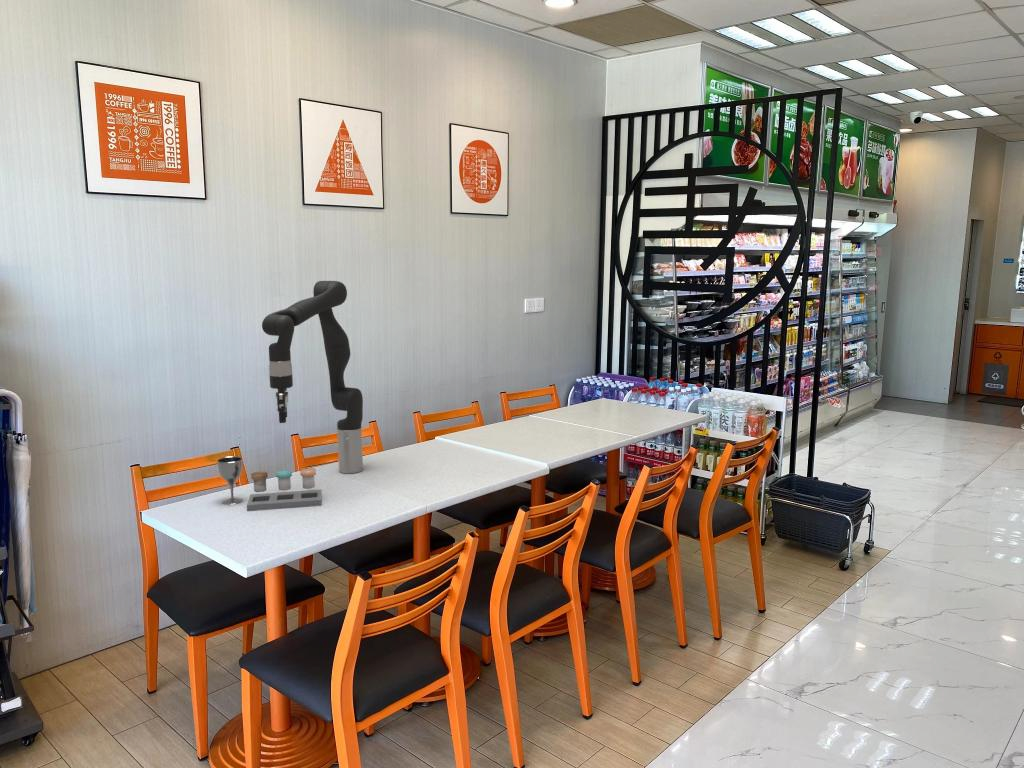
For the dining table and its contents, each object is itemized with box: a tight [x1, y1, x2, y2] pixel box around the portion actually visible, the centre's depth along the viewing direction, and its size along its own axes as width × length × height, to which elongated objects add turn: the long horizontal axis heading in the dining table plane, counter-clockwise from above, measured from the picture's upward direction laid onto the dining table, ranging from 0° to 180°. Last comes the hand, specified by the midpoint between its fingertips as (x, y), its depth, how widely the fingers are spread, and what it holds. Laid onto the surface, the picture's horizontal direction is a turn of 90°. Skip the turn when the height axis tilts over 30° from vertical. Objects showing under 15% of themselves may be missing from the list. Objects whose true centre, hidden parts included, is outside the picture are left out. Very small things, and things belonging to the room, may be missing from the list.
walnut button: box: [250, 470, 268, 493], centre depth 262 cm, size 5×5×6 cm
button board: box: [246, 489, 322, 512], centre depth 265 cm, size 12×24×2 cm, turn 103°
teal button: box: [275, 469, 293, 491], centre depth 263 cm, size 5×5×6 cm
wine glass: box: [217, 455, 244, 506], centre depth 265 cm, size 8×8×15 cm
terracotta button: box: [299, 467, 317, 490], centre depth 265 cm, size 5×5×6 cm
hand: (283, 420), depth 265 cm, fingers open, 8 cm apart
